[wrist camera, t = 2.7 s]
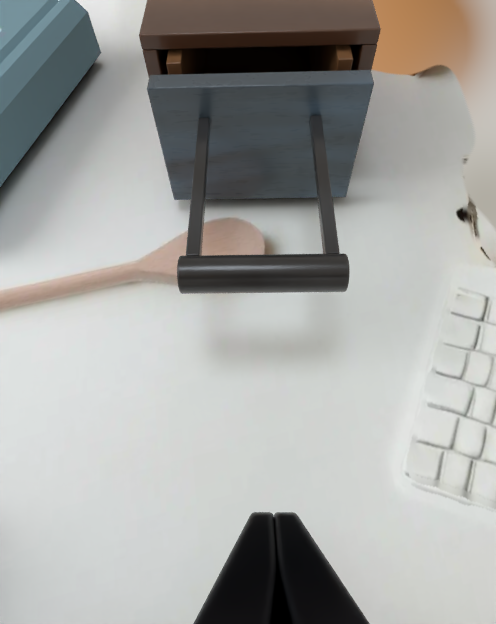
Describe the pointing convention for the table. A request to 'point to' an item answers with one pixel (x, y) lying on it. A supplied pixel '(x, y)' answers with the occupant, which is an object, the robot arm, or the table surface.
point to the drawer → (261, 151)
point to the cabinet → (257, 27)
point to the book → (38, 68)
